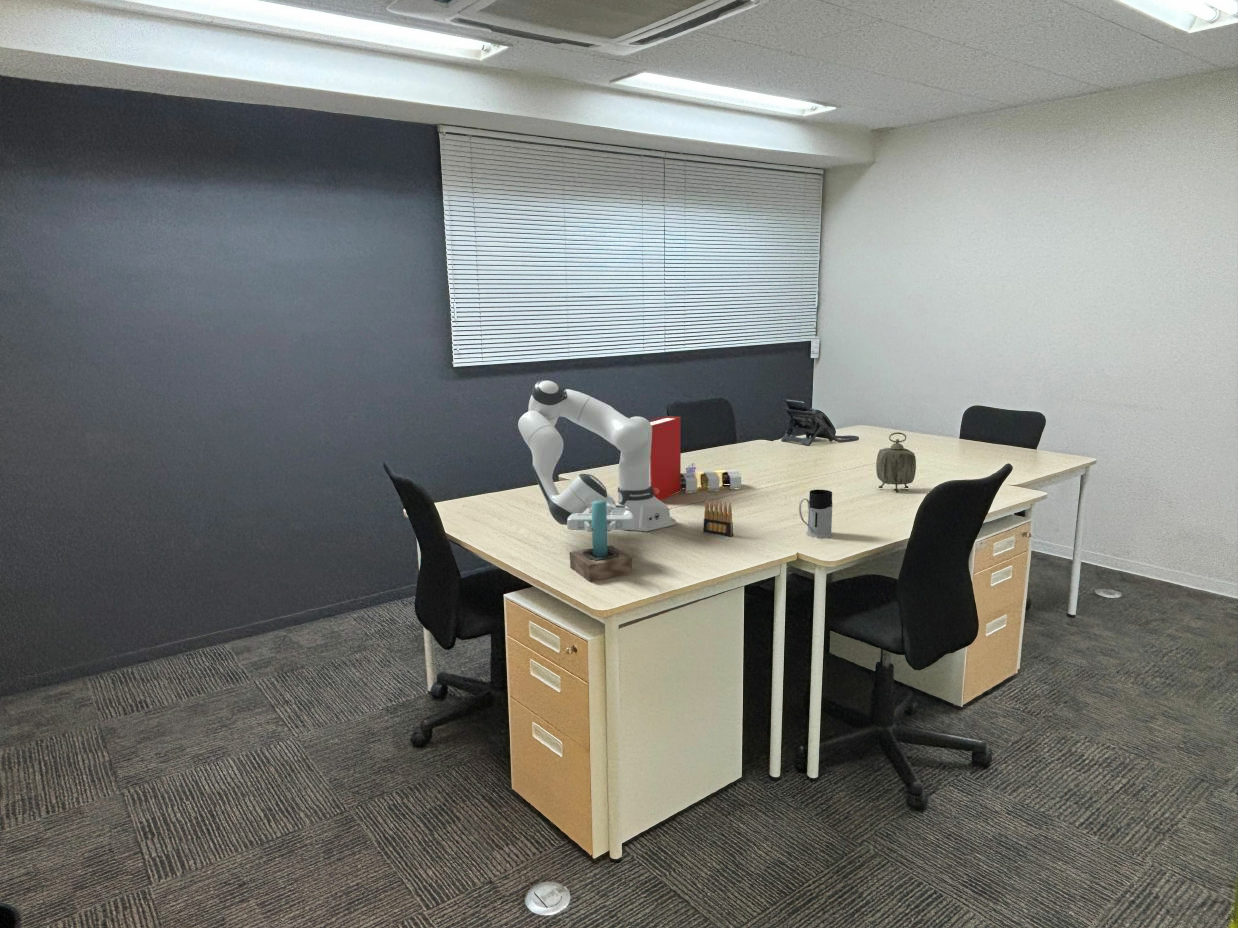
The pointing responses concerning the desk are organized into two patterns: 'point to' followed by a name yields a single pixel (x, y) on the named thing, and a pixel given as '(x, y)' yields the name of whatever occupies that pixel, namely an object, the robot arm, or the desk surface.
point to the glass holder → (819, 513)
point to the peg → (599, 528)
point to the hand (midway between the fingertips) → (599, 528)
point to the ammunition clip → (718, 519)
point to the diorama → (709, 479)
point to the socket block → (601, 564)
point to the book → (665, 456)
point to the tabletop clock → (896, 464)
